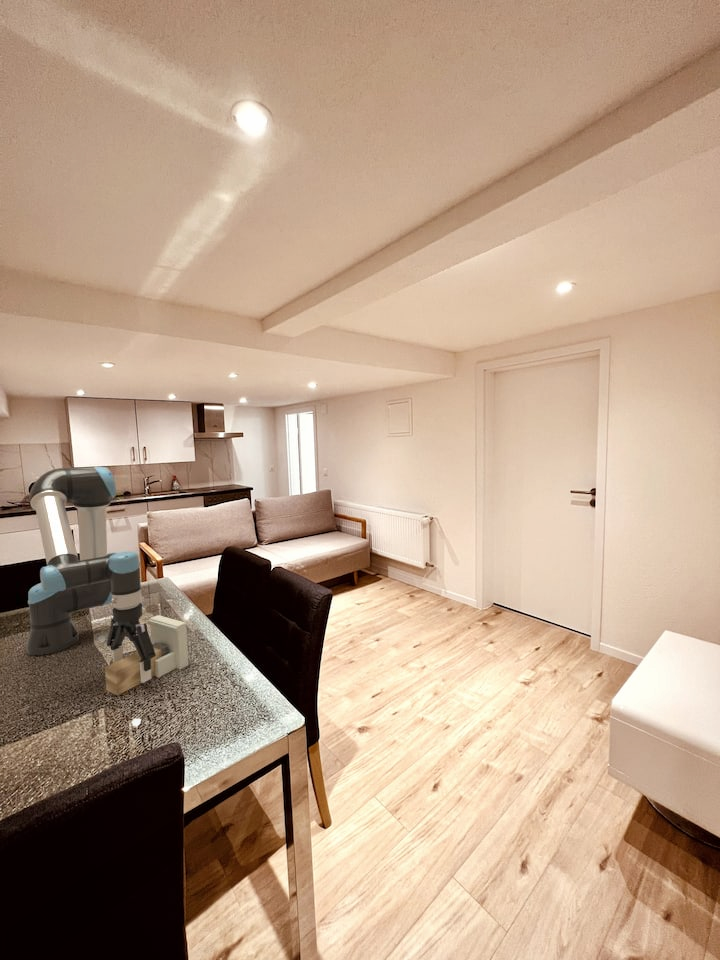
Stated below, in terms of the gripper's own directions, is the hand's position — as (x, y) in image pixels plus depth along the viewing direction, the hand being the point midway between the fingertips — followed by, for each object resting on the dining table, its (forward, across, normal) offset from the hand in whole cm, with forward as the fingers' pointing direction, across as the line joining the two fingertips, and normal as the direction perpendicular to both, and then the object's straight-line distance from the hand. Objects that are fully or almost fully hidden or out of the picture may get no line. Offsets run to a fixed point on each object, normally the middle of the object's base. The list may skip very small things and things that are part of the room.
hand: (132, 674), depth 120 cm
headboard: (+2, 0, +10) cm, 10 cm away
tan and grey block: (+2, 0, +2) cm, 3 cm away
